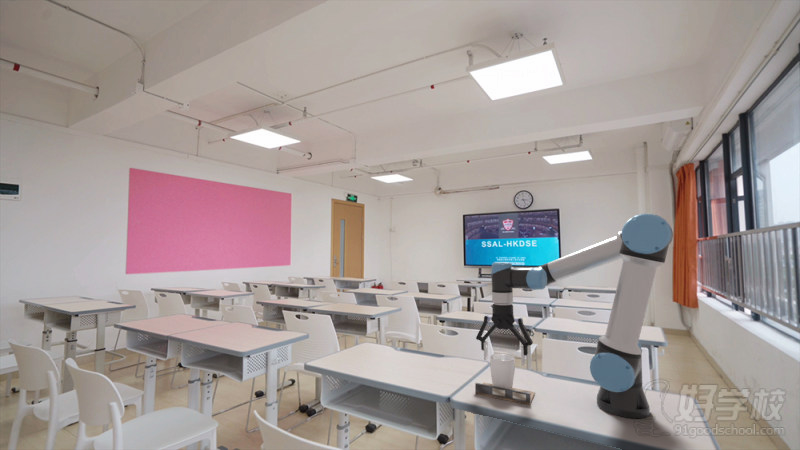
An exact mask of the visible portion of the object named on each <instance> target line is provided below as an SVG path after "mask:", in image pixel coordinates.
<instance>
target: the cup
mask: <svg viewBox="0 0 800 450" xmlns="http://www.w3.org/2000/svg"><path fill="white" fill-rule="evenodd" d="M489 357H490V358H489V359H490V361H489V367H490V375H491V382H492V383H491V384H493V386H496V387H501V388H507V389H512V388H514V386H513V385H514V378H515V370H516V362H515V361H516V360H515V357H514V356H512V355H510V354H505V353H504V354H503V353H494V354H491V355H490V356H489Z"/></svg>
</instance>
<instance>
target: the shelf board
mask: <svg viewBox="0 0 800 450" xmlns="http://www.w3.org/2000/svg"><path fill="white" fill-rule="evenodd" d="M474 388H475V389H474V390H475V392H474V393H475V395H479V396H485V397H490V398H495V399H498V400H504V401H510V402H513V403H518V404H519V403H520V404H523V405H528V406H531V404H532V402H533V399H534V397H535V395H536V391H532V390H526V389H520V388H516V387H515V388H514V387H512V389H507V388H501V387H496V386H493V384H492V383H488V382H482V383H480V382H475V385H474ZM534 394H535V395H534ZM531 401H532V402H531Z"/></svg>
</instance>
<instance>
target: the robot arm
mask: <svg viewBox="0 0 800 450" xmlns="http://www.w3.org/2000/svg"><path fill="white" fill-rule="evenodd" d="M673 237H674V232H673V229H672V227H671V226H670V224H669V222H668V221H667V220H666V218H663V217H662V216H660V215H658V214H654V213H653V214H652V213H640V214H637V215H634V216H633V217H631V218H629V219H628V220H627V221H626V222H625V223H624V225H623V226H622V229H621V230H620V231H618V233H617V235H615V236H613V237H610V238H608V239H605V240H604V241H601V242H598V243H595V244H593V245H590V246H588V247H587V246H586V247H585V248H582V249H580V250H577V251H575V252H572V253H570V254H567V255H564V256H562V257H560V258H557V259H554V260H552V261H549V262H546V263H544V264H541V265H539V266H535V267H513V265H512V262H509V261H507V262H506V261H504V262H503V261H502V262H501V261H498V262H496V261H495V262H492V264H491V270H490V271H491V273H490V275H491V301H492V303H493V304H492V305H491V306H492V307H491V310H492V316H491V315H488V314H486V315H484V317H483V323H482V325H480V326H481V327H480V329H479V330H478V333H477V335H476V337H475V340H477V341H480V345H481V346H480V347H481V351H483V360H484V361H488V359H489V349H488V345H489V344H488V343H489V342H488V340H487V339H488V338H489V337H490V335H491V334H492V333H494V331H495V330H496V328H497V329H498V330H505V331H507V330H509V331H510V332H511V333H512V334H513V335H514V336H515V338H516V339H517V340H518V341H519V342H520V343H521V346H520V355H521V356H520V357H521V366H525V364H526V356H528V354H529V351H528V350H529V349H528V347H529V346H532V345H533V344H534V341H533V339H532V338H531V336H530V334H529V332H528V330H527V328H526V326H525V324H524V319H523V318H522V317H515V316H514V305H513V303H514V296H513V295H514V291H513V289H522V290H523V289H524V290H533V291H536V290H537V291H538V290H544V289H545V288H546V287H547V286H549V285H551V284H553V283H555V282H558V281H561V280H565V279H567V278H570V277H573V276H576V275H578V274H582V273H584V272H588V271H590V270H593V269H595V268H598V267H601V266H604V265H607V264H609V263H614V262H615V261H618V260H621V259H622V265H621V270H620V273H619V276H618V277H619V278H618V281H617V286H616V290H615V293H614V294H615V295H614V299H613V302H612V307H611V310H610V314H609V319H608V324H607V327H606V331H605V334H604V335H602V336H600V337H598V341H597V344H596V348H595V352H594V355H593V356H592V358H591V359H590V362H589V363H590V364H589V372H590V374H591V377H592V379H593V380H594V381H595V382H596V384H598V385H599V389H598V392H597V395H596V404H597V406H598V407H599V408H600V409H602V411H604V412H607V413H609V414H613V415H616V416H620V417H623V418H628V419H629V418H630V419H645V418H648V417H649V416H650V409H651V408H650V405H649V401H648V399H647V397H646V393H645V390H644V387H643V365H642V363H643V362H642V361H643V358H642V353H643V350H642V344H641V342H639V340H640V335H641V333H642V328H643V324H644V320H645V317H646V312H647V307H648V304H649V300H650V296H651V293H652V289H653V284H654V279H655V276H656V272H657V269H658V268H659V267H660V266H662V265H665V262H666V259H667V255H668V251H669V247H670V245H671V243H672V241H673ZM490 321H492V323H493V325H492V326H491V327H490V328H489V329H488V330H487V332H486V333H485V334H484V332H485V330H486V328H487V325H488V323H489V322H490ZM515 323H516V324H517V325H518V327H519V329H520V331H521V333H522V334H523V335H522V334H521V333H520V332H519V331H518V330H517V328H516V326H515V325H514V324H515ZM483 334H484V335H483ZM523 336H524V337H523Z"/></svg>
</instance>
